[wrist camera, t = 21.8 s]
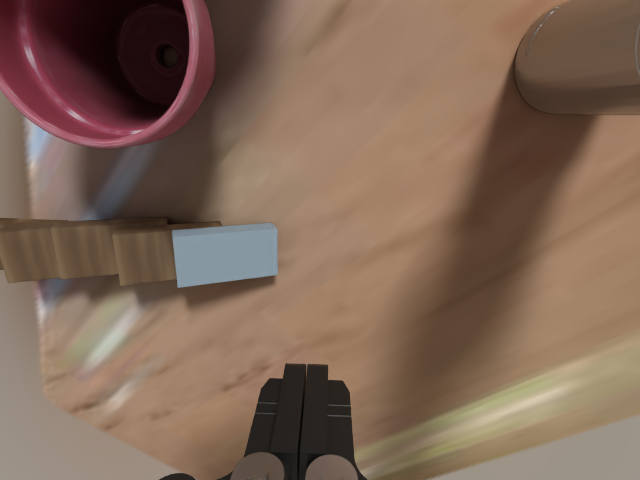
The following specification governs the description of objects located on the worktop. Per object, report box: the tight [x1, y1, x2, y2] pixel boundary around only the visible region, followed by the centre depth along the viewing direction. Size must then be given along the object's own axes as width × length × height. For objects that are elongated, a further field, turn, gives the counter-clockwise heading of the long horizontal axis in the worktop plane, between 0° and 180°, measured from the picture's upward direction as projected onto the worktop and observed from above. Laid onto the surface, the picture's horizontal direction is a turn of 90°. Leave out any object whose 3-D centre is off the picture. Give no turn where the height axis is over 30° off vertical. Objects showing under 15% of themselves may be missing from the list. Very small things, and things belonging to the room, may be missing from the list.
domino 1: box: [0, 218, 68, 270], centre depth 40 cm, size 2×5×10 cm
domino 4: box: [112, 221, 222, 286], centre depth 37 cm, size 2×5×10 cm
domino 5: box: [172, 223, 278, 288], centre depth 37 cm, size 2×5×10 cm
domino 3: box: [51, 217, 168, 279], centre depth 37 cm, size 2×5×10 cm
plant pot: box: [0, 0, 216, 148], centre depth 28 cm, size 14×14×13 cm
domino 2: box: [0, 219, 110, 283], centre depth 38 cm, size 2×5×10 cm
